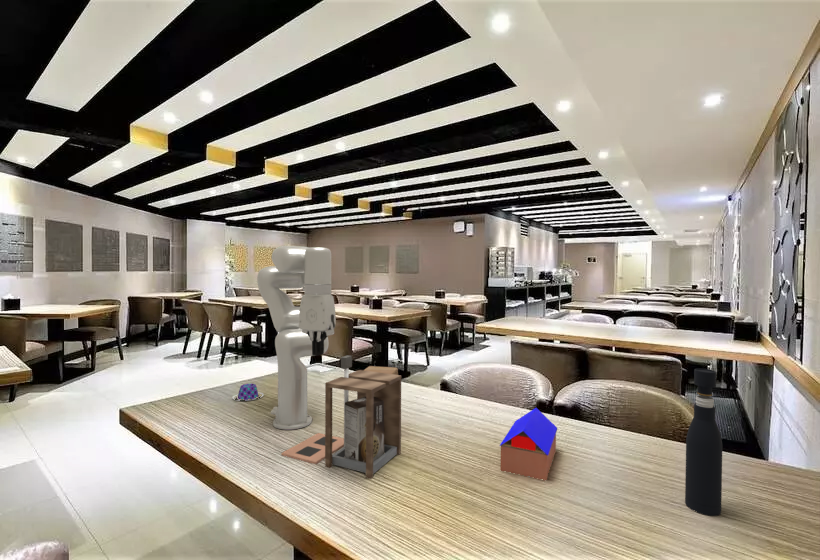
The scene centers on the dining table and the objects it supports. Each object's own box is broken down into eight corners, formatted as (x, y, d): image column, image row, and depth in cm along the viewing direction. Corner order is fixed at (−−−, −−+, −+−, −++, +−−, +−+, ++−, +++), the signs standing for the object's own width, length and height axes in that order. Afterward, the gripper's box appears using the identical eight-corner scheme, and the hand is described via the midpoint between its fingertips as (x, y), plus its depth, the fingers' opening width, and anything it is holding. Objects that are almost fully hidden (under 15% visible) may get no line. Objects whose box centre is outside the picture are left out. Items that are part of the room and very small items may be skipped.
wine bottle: (678, 499, 92) (680, 367, 91) (704, 498, 92) (707, 366, 92) (700, 516, 85) (703, 374, 85) (729, 515, 86) (731, 373, 85)
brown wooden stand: (325, 466, 106) (325, 382, 106) (358, 443, 120) (359, 369, 120) (371, 478, 100) (371, 389, 100) (400, 453, 114) (401, 375, 114)
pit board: (281, 455, 113) (281, 452, 113) (318, 434, 127) (318, 432, 127) (315, 464, 107) (315, 461, 107) (350, 442, 122) (350, 439, 122)
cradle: (329, 463, 107) (329, 360, 107) (356, 444, 119) (357, 352, 119) (372, 474, 101) (373, 366, 101) (396, 454, 113) (397, 356, 113)
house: (557, 450, 117) (557, 410, 117) (547, 482, 99) (548, 435, 99) (515, 442, 122) (515, 404, 122) (498, 471, 104) (499, 426, 104)
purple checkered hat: (256, 402, 159) (256, 389, 159) (226, 402, 159) (226, 388, 159) (268, 393, 171) (268, 381, 171) (240, 393, 171) (240, 380, 171)
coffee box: (370, 451, 116) (370, 394, 115) (384, 458, 111) (385, 399, 111) (343, 461, 109) (343, 401, 109) (358, 469, 105) (358, 407, 104)
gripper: (288, 290, 116) (288, 354, 116) (331, 291, 110) (331, 359, 110) (306, 289, 123) (306, 350, 123) (347, 290, 116) (347, 354, 117)
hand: (317, 354), depth 116 cm, fingers closed
